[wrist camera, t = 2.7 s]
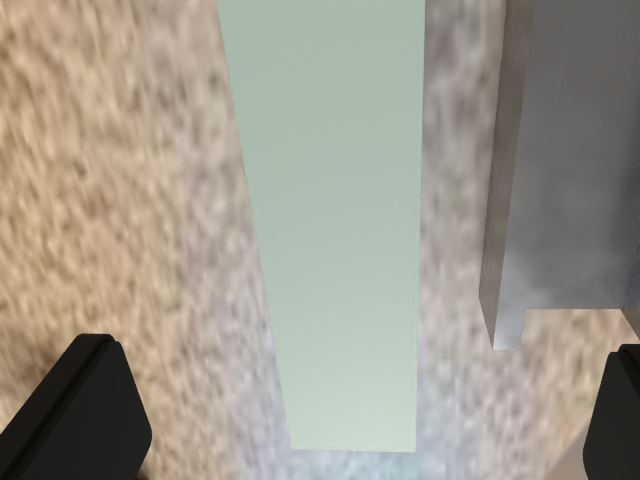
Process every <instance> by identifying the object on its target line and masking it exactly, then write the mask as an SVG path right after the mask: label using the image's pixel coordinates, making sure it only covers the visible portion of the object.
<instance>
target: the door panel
mask: <svg viewBox="0 0 640 480" xmlns="http://www.w3.org/2000/svg"><path fill="white" fill-rule="evenodd" d="M216 3H217V9H218V15H219V21H220V27H221V33H222V39H223V44H224V50H225V56H226V62H227V68H228V74H229V80H230V86H231V92H232V98H233V104H234V110H235V116H236V122H237V128H238V134H239V140H240V146H241V152H242V158H243V164H244V170H245V175H246V181H247V187H248V193H249V199H250V205H251V211H252V217H253V223H254V229H255V235H256V241H257V247H258V253H259V259H260V265H261V271H262V277H263V283H264V289H265V295H266V301H267V306H268V312H269V318H270V324H271V330H272V336H273V342H274V348H275V354H276V360H277V366H278V372H279V378H280V384H281V390H282V396H283V402H284V408H285V414H286V420H287V426H288V432H289V437H290V443H291V448H293V449H324V450H355V451H386V452H415V446H416V400H417V353H418V307H419V261H420V215H421V168H422V122H423V76H424V30H425V0H216Z"/></svg>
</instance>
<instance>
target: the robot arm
mask: <svg viewBox="0 0 640 480" xmlns="http://www.w3.org/2000/svg"><path fill="white" fill-rule="evenodd" d="M151 441H152V430H151V426H150V424H149V421H148V418H147V415H146V412H145V410H144V407H143V404H142V401H141V398H140V396H139V393H138V390H137V387H136V384H135V381H134V379H133V376H132V373H131V370H130V367H129V365H128V362H127V359H126V356H125V353H124V351H123V348H122V345H121V344H120V343H119V342H118V341H115V340H114V338H113V337H112V336H111V335H110V334H84V333H82V334H80V335H78V336H77V337H76V338H75V339H74V340H73V342H72V343H71V344H70V346H69V347H68V348H67V349H66V351H65V352H64V353H63V355H62V356H61V357H60V358H59V360H58V361H57V362H56V364H55V365H54V366H53V367H52V369H51V370H50V371H49V373H48V374H47V375H46V376H45V378H44V379H43V380H42V382H41V383H40V384H39V385H38V387H37V388H36V389H35V391H34V392H33V393H32V394H31V396H30V397H29V398H28V400H27V401H26V402H25V403H24V405H23V406H22V407H21V409H20V410H19V411H18V413H17V414H16V415H15V416H14V418H13V419H12V420H11V422H10V423H9V424H8V425H7V427H6V428H5V429H4V431H3V432H2V433H1V434H0V480H135V478H136V475H137V473H138V471H139V469H140V467H141V465H142V463H143V461H144V458H145V456H146V454H147V452H148V450H149V447H150V445H151ZM583 463H584V467H585V471H586V474H587V477H588V480H640V344H622V345H621V346H620V347H619V350H618V352H611V353H610V354H609V355H608V358H607V362H606V365H605V369H604V373H603V377H602V381H601V384H600V388H599V392H598V396H597V399H596V403H595V407H594V411H593V414H592V418H591V422H590V426H589V430H588V433H587V437H586V441H585V444H584V448H583Z"/></svg>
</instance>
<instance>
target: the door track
mask: <svg viewBox="0 0 640 480" xmlns="http://www.w3.org/2000/svg"><path fill="white" fill-rule="evenodd" d="M479 300H480V303H481V307H482V311H483V315H484V319H485V322H486V326H487V330H488V334H489V338H490V341H491V345H492V349H493V350H520V343H521V337H522V330H523V324H524V318H525V311H526V309H621V311H622V312H623V314H624V316H625V317H626V319H627V320H628V322H629V324H630V325H631V327H632V329H633V330H634V332H635V333H636V335H637V337H638V338H639V340H640V0H507V10H506V21H505V31H504V41H503V52H502V62H501V73H500V83H499V93H498V104H497V114H496V124H495V135H494V145H493V156H492V166H491V176H490V187H489V197H488V208H487V218H486V228H485V239H484V249H483V259H482V270H481V280H480V291H479Z"/></svg>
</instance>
